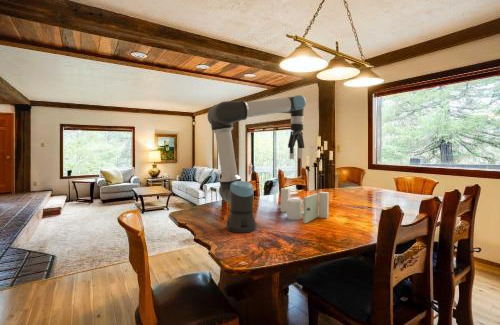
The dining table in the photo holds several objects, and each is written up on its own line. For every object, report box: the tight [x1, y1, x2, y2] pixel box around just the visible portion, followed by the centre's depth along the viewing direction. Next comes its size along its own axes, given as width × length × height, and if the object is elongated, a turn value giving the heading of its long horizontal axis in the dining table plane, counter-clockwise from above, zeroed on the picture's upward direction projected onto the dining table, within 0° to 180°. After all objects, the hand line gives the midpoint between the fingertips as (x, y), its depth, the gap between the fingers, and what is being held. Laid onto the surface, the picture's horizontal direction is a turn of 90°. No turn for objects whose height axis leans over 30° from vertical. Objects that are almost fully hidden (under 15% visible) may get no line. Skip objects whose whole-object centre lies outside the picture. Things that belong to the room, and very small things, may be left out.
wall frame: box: [280, 187, 330, 219], centre depth 166 cm, size 30×3×15 cm, turn 58°
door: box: [302, 190, 320, 224], centre depth 151 cm, size 19×3×16 cm, turn 144°
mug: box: [286, 198, 304, 221], centre depth 157 cm, size 9×12×11 cm
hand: (296, 158), depth 163 cm, fingers open, 13 cm apart
